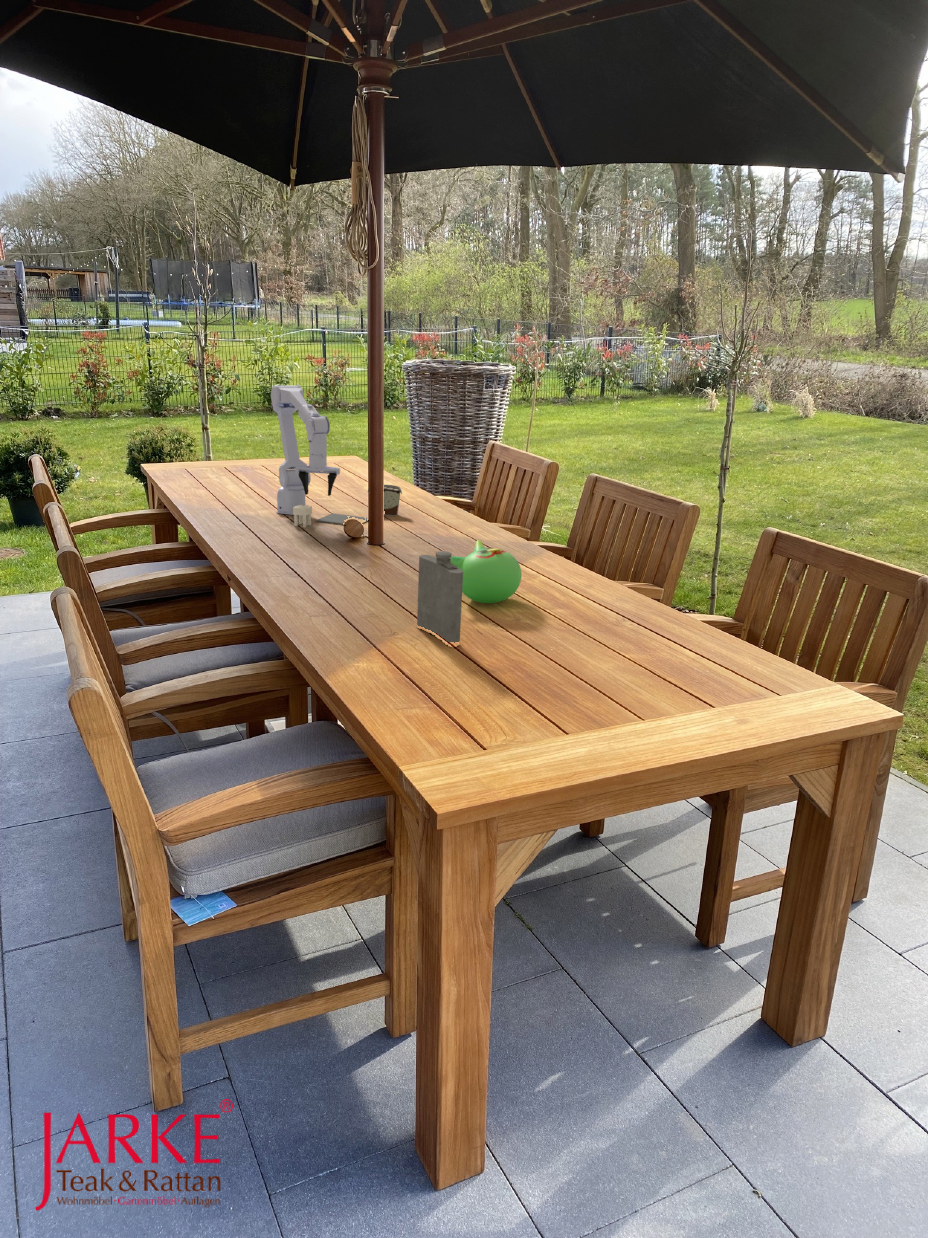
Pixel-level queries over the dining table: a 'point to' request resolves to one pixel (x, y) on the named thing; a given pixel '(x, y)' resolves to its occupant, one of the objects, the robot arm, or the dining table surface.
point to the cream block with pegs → (302, 515)
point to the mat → (336, 518)
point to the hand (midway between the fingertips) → (318, 494)
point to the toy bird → (488, 574)
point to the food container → (391, 499)
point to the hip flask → (440, 595)
